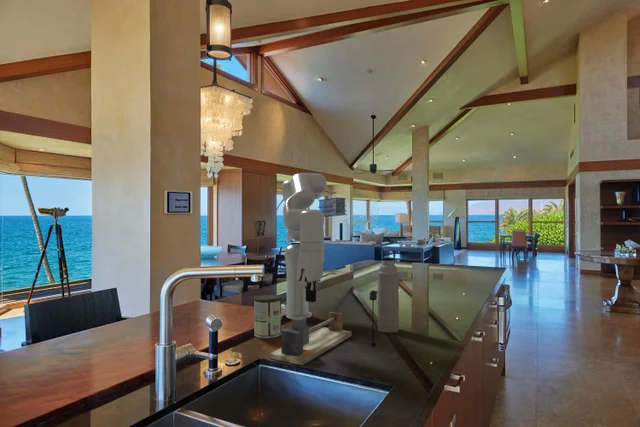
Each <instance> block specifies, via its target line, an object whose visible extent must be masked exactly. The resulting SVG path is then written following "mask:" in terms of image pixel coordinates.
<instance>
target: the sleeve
mask: <svg viewBox="0 0 640 427" xmlns="http://www.w3.org/2000/svg"><path fill="white" fill-rule="evenodd" d="M288 329H294V330H300V331H303V346H304V345H306V344H308V343H309V334H310V333H309V329H310V326H309V327H308V326H307V319H306V317H299V316H298V317H296V318H293V319H291V327H289V328H288Z"/></svg>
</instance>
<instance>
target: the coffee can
mask: <svg viewBox="0 0 640 427" xmlns="http://www.w3.org/2000/svg"><path fill="white" fill-rule="evenodd" d="M282 298H283V297H282V295H280V294H275V293H269V294H268V293H267V294H264V293H263V294H258V295H255V296H254V297H253V301H254V302H253V303H254V304H253V308H254V309H253V313H254V314H253V317H254V318H253V319H254V328H253V330H254V336H255V337H256V338H260V339H274V338H277V337H280V336H281V331H282V310H281V305H282Z"/></svg>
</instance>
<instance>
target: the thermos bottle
mask: <svg viewBox="0 0 640 427" xmlns="http://www.w3.org/2000/svg"><path fill="white" fill-rule="evenodd" d="M399 277H400V274H399V272H398V267H397V266H396V265H395V258H394V257H387V256H386V257H385V256H384V257H381V265H379V271H378V272H377V330H378V331H379V332H381V333H390V334H391V333H397V332H399V331H398V330H400V329H399V328H400V327H399V326H400V325H399V324H400V323H399V321H400V320H399V319H400V318H399V317H400V316H399V314H400V313H399V311H400V310H399V307H400V305H399V304H400V303H399V302H400V300H399V299H400V298H399V297H400V296H399V293H400V292H399V289H400V287H399V284H400V282H399Z"/></svg>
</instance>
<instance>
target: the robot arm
mask: <svg viewBox="0 0 640 427" xmlns="http://www.w3.org/2000/svg"><path fill="white" fill-rule="evenodd" d="M327 183H328V182H327V179H326V177H325V175H324V174H322V173H318V172H317V173H316V172H315V173H311V172H300V173H296V174H294V175H293V176H292V177H291V179H287V180H285V181H284V182H282V185H281V193H282V198H283V201H284V204H283V209H282V217H283V224H284V227H285V228H286V230H287V236H288V239H289V241H293V242H299V243H298V244H297V243H296V244H291V245H288V246H287V247H285V250H284V261H285V268H286V304H281V311H284V313H286V314H287V315H286V317H287V318H288V319H287V318H286V319H287V320H292V319H293V318H296V317H298V316H299V317H306V320H307V319H309V318H311V317H312V312H311V311H309V303H316V302H317V289H318V283H320V282H321V280H322V278H323V277H324V276H323V275H324V261H325V231H324V229H325V228H324V225H325V216H324V213H323V212H322V211H321V210H319V209H308V208H310V207H312V205H313V204H314V203H315V200H319V199H321V198H322V197H323V196H324V195H325V193H326V190H327Z"/></svg>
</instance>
